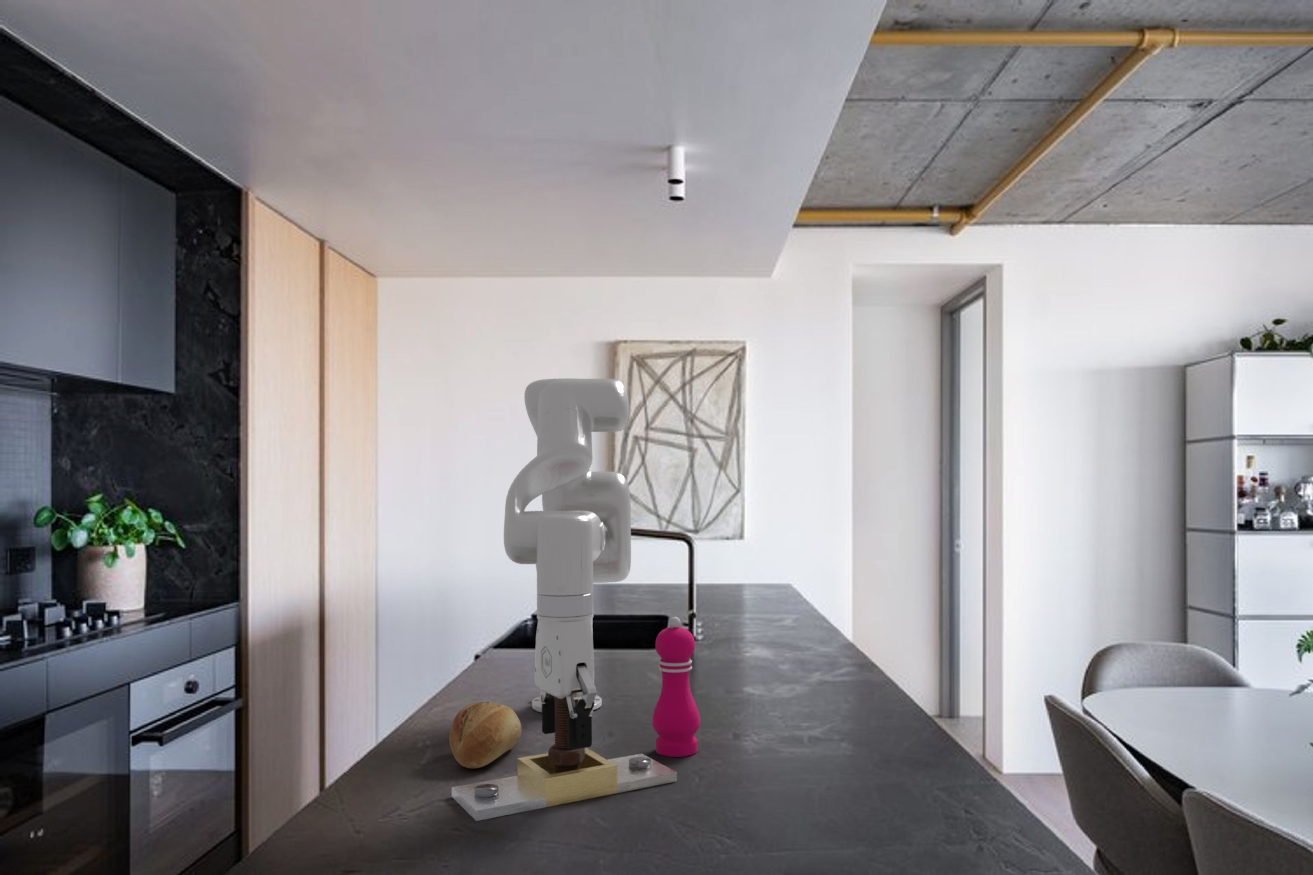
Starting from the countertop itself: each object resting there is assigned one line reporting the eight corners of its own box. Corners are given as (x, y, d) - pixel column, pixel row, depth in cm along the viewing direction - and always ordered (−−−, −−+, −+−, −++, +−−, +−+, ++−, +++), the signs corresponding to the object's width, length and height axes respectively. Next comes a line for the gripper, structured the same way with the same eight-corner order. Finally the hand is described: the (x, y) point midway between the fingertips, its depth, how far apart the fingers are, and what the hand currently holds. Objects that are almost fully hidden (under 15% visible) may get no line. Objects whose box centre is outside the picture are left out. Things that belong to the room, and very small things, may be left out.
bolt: (579, 796, 118) (579, 679, 118) (541, 794, 119) (541, 678, 119) (590, 781, 124) (590, 669, 124) (554, 779, 125) (554, 668, 125)
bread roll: (434, 773, 129) (434, 716, 129) (471, 743, 143) (471, 692, 144) (500, 776, 127) (500, 717, 128) (530, 745, 142) (530, 693, 142)
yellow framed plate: (451, 796, 119) (451, 769, 119) (641, 761, 132) (641, 737, 133) (476, 820, 110) (476, 791, 110) (677, 781, 124) (676, 754, 124)
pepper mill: (706, 746, 140) (704, 614, 141) (692, 760, 133) (690, 621, 134) (661, 742, 142) (659, 612, 143) (645, 755, 135) (644, 619, 136)
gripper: (515, 601, 128) (516, 728, 127) (565, 616, 113) (566, 761, 112) (565, 597, 132) (565, 721, 131) (619, 612, 117) (621, 751, 116)
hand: (566, 739), depth 121 cm, fingers open, 8 cm apart
